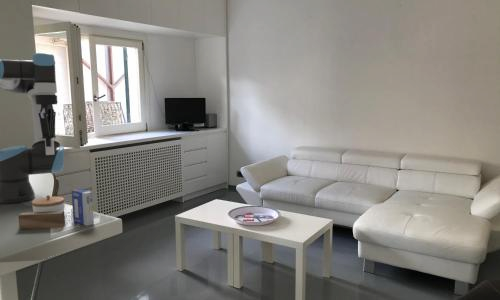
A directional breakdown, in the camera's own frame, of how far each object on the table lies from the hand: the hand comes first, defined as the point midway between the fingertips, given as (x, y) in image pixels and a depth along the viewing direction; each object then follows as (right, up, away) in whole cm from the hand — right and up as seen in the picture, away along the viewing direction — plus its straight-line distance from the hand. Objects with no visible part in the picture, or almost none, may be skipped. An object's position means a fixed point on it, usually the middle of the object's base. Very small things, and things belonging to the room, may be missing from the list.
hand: (50, 154), depth 158 cm
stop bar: (+7, -25, -19) cm, 32 cm away
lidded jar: (+5, -24, -11) cm, 27 cm away
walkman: (+19, -25, -14) cm, 34 cm away
